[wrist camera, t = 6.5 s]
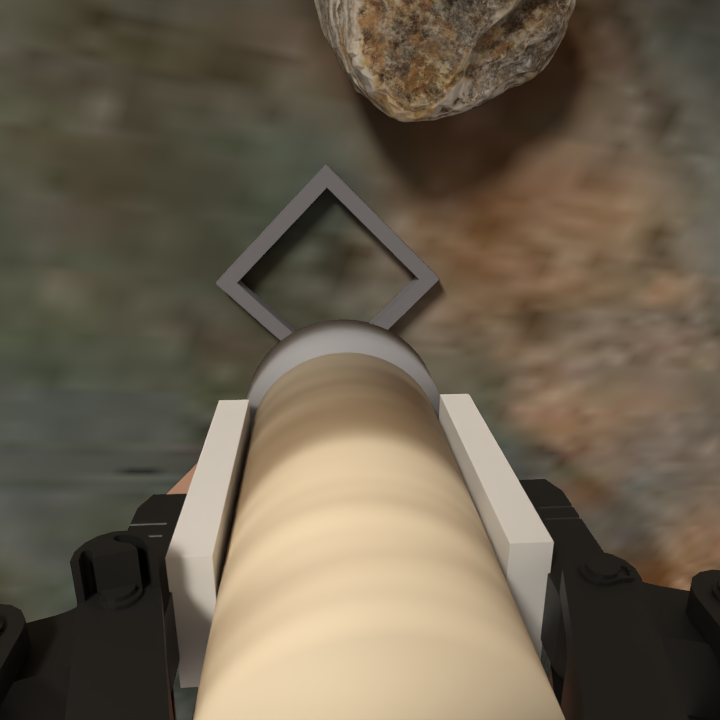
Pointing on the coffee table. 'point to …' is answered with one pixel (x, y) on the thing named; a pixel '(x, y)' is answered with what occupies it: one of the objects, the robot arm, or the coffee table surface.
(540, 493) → the robot arm
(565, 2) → the stone
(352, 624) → the beige rounded cylinder
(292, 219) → the gray square frame
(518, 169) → the coffee table surface
